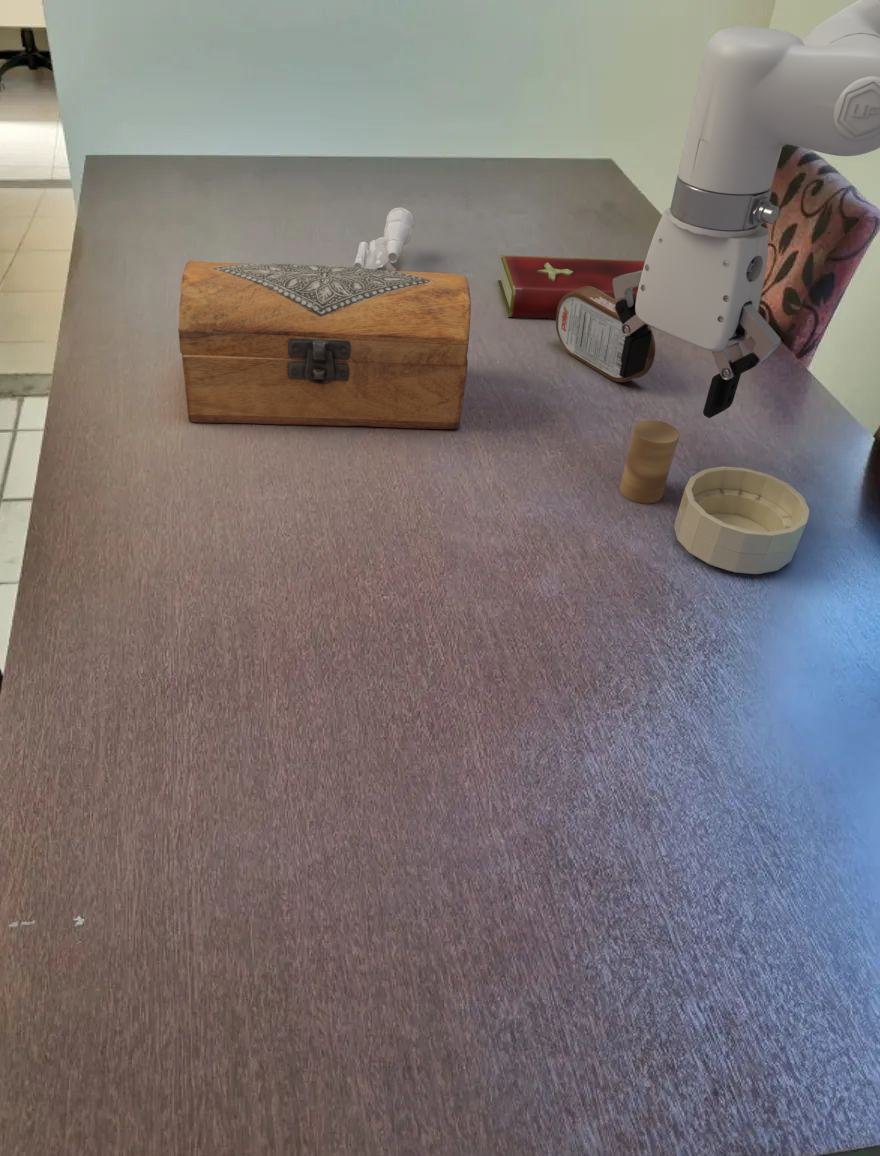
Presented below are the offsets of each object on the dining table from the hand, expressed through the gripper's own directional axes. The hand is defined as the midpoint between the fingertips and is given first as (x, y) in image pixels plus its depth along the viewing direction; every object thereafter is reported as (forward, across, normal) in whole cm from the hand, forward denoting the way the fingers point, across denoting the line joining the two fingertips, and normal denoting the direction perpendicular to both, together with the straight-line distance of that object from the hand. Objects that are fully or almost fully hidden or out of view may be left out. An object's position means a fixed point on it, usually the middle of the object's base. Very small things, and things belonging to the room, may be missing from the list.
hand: (672, 392), depth 92 cm
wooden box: (+11, +35, +14) cm, 39 cm away
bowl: (+11, -10, 0) cm, 15 cm away
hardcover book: (+11, +36, -31) cm, 48 cm away
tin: (+11, +22, -18) cm, 30 cm away
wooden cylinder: (+11, 0, 0) cm, 11 cm away
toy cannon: (+11, +60, -16) cm, 62 cm away
